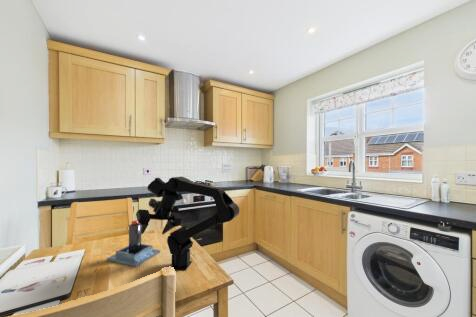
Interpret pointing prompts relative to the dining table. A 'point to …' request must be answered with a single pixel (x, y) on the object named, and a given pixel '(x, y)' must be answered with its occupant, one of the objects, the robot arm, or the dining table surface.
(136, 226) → the dark upright cylinder piece
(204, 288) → the dining table surface
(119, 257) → the flange socket
